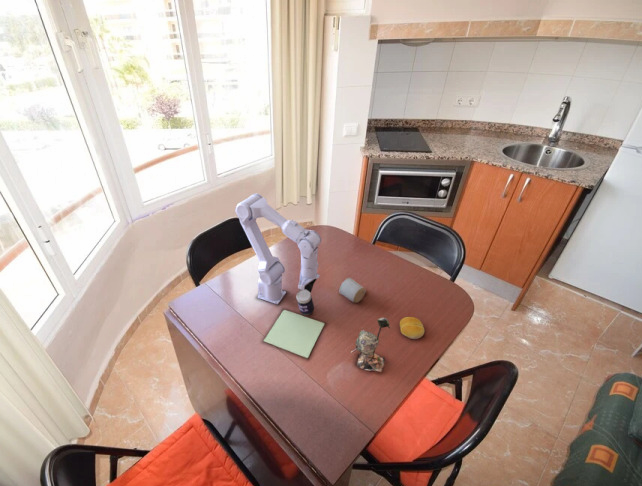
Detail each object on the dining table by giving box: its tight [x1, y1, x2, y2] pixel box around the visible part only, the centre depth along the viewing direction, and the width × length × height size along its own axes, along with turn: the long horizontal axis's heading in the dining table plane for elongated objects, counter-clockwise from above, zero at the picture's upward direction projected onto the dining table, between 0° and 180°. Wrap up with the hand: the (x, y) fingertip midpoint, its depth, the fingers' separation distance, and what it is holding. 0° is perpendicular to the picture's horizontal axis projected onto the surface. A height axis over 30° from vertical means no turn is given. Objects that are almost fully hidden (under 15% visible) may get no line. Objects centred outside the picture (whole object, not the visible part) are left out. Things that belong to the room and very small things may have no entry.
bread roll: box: [399, 316, 425, 340], centre depth 116 cm, size 8×9×4 cm
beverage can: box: [295, 289, 315, 316], centre depth 121 cm, size 6×6×12 cm
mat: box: [263, 309, 325, 359], centre depth 118 cm, size 17×17×1 cm
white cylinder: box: [338, 277, 367, 304], centre depth 131 cm, size 11×8×8 cm
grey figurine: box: [350, 317, 391, 373], centre depth 102 cm, size 8×11×20 cm
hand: (308, 292), depth 122 cm, fingers closed
